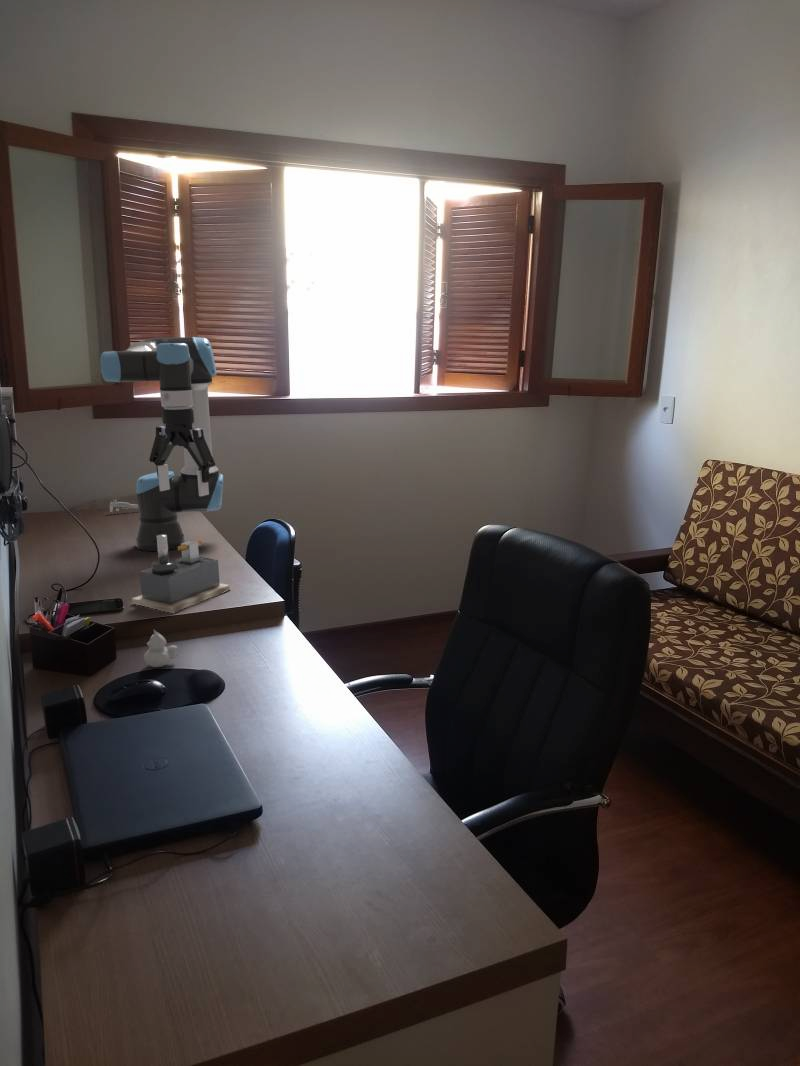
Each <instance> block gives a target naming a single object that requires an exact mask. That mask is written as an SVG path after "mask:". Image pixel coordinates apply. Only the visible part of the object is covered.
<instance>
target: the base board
mask: <svg viewBox="0 0 800 1066" xmlns="http://www.w3.org/2000/svg"><path fill="white" fill-rule="evenodd" d="M230 589H231V587H230V584H227V583H226V584H225V583H221V582H220V586H217V587H215V588H212V589H210V590H207V591H204V592H202V593H199V594H197V595H194V596H192V597H189V598H187V599H184V600H181V601H179V602H176V603H174V604H171V605H170V604H166V603H161V602H157V601H153V600H148V599H144V598H142V594H141V595H137V596H136V597H132V598H131V603H132V605H134V604H137V605H136V606H138V605H142V606H146V607H150V608H154V609H153V610H155V609H158V610H157V611H159V610H162V611H161V612H163V611H167V612H171V613H173V612H176V611H178V612H180V611H179V610H181V609H183V608H186V607H188V606H190V607H192V606H191V605H193V604H195V605H197V604H196V603H198V602H200V603H202V602H201V601H203V600H205V601H207V600H206V599H208V598H210V599H212V598H211V597H213V596H215V597H216V595H218V594H220V593H222V592H224V591H226V590H230ZM222 594H223V593H222ZM220 595H221V594H220ZM218 596H219V595H218ZM213 598H214V597H213ZM208 600H209V599H208ZM203 602H204V601H203ZM198 604H199V603H198ZM142 606H141V607H142ZM193 606H194V605H193ZM146 607H145V608H146ZM150 608H149V609H150ZM188 608H189V607H188ZM186 609H187V608H186ZM183 610H184V609H183ZM181 611H182V610H181ZM167 612H166V613H167ZM171 613H170V614H171ZM176 613H177V612H176ZM173 614H174V613H173Z"/></svg>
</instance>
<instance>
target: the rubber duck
mask: <svg viewBox="0 0 800 1066" xmlns="http://www.w3.org/2000/svg"><path fill="white" fill-rule="evenodd" d="M146 645H147V646H148V649H147V651H146V652H145V653H144V654H143V660H144V662H145V663H146V664H147V665H149V666H150V667H152V668H161V667H162V668H163V667H165V666H166V665H167V664H168V663H170V661H171V660H173V659H177V658H178V653H177V652H178V646H177V645H174V644H172V645H168V646H166V645H167V640H166V637H164V635H162V634H161V633H160V632H158V631H156V630H155V629H153V633H152V635H151V636H150V638H149V641H148V642H146Z"/></svg>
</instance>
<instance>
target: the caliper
mask: <svg viewBox="0 0 800 1066" xmlns="http://www.w3.org/2000/svg"><path fill="white" fill-rule="evenodd" d="M114 508H115V511H118V512H119V511H120V510H126V511H130V509H136V510H137V509H138V504H132V503H130V502H125V501H124V502H123V501H117V499H113V498H112V500H111V501H110V503H109V513H110V512H112V513H113V511H114ZM138 510H139V509H138Z"/></svg>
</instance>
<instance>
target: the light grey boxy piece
mask: <svg viewBox="0 0 800 1066" xmlns="http://www.w3.org/2000/svg"><path fill="white" fill-rule="evenodd" d="M201 545H202V541H201V540H200V539H197V540H194V541H192V540H188V541H185V542H184V543H181V546H178V548H176V549H177V551H178V552H181V558H182V564H184V565H189V566H190V565H193V564H196V563H199V557H200V553H199V546H201Z"/></svg>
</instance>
